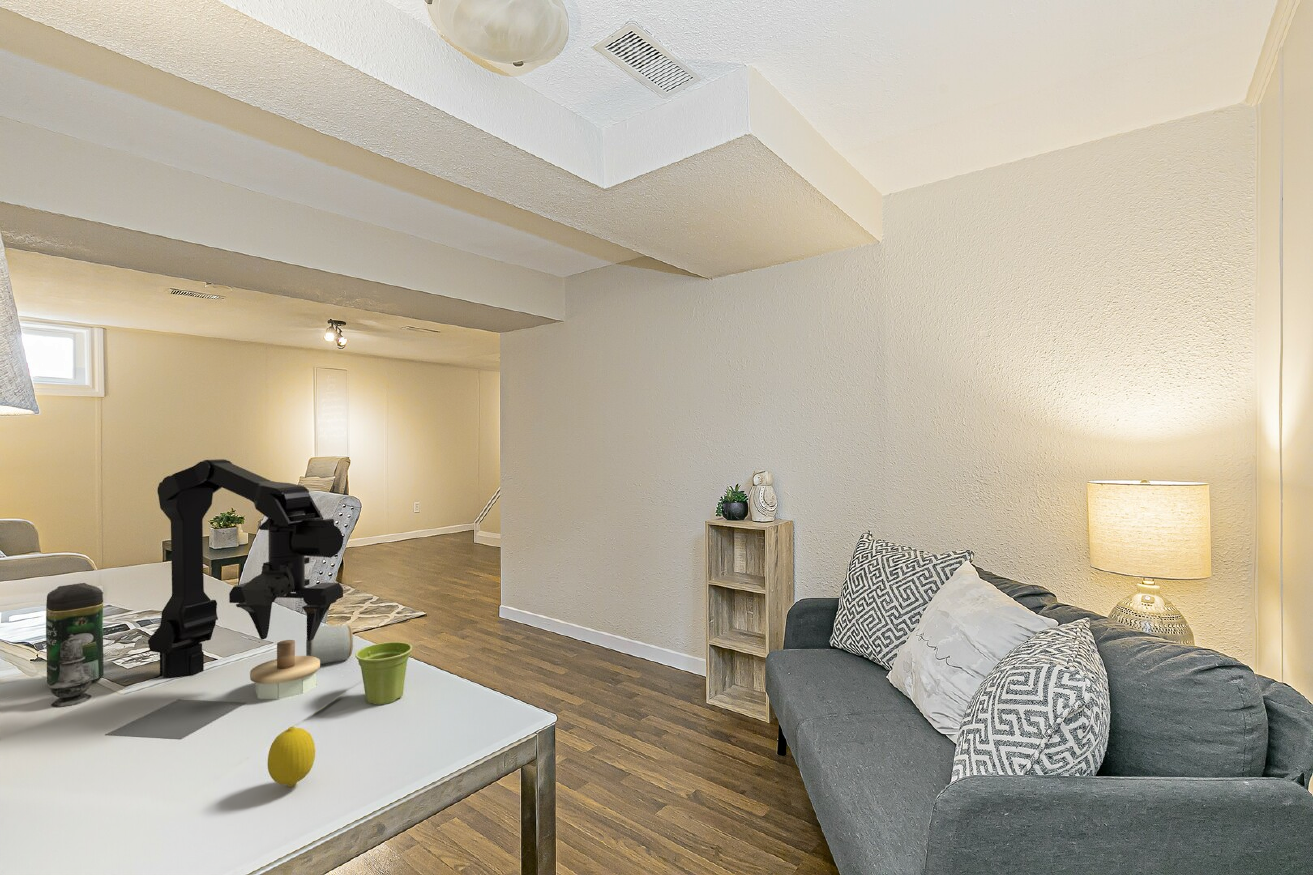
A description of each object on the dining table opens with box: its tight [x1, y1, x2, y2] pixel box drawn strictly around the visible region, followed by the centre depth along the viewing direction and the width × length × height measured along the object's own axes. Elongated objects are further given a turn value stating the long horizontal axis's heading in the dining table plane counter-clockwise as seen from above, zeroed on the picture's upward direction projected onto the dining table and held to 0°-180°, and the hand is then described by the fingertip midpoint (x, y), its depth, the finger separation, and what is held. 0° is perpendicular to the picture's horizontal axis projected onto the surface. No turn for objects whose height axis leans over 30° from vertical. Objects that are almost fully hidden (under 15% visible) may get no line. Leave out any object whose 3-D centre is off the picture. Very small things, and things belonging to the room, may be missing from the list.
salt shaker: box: [48, 634, 94, 708], centre depth 110 cm, size 6×6×12 cm
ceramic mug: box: [305, 624, 354, 666], centre depth 131 cm, size 11×8×8 cm
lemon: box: [267, 726, 316, 788], centre depth 83 cm, size 6×6×8 cm
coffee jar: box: [45, 582, 105, 685], centre depth 119 cm, size 10×8×19 cm
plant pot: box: [354, 641, 413, 706], centre depth 111 cm, size 9×9×9 cm
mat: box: [104, 698, 247, 740], centre depth 101 cm, size 13×13×1 cm
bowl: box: [254, 671, 317, 700], centre depth 113 cm, size 9×9×4 cm
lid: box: [249, 639, 321, 684], centre depth 113 cm, size 11×11×5 cm
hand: (287, 639), depth 113 cm, fingers open, 9 cm apart
